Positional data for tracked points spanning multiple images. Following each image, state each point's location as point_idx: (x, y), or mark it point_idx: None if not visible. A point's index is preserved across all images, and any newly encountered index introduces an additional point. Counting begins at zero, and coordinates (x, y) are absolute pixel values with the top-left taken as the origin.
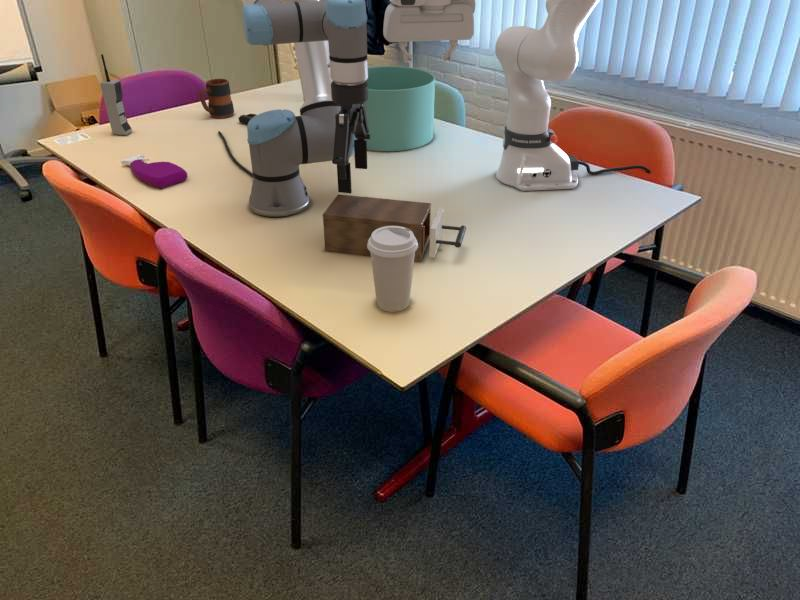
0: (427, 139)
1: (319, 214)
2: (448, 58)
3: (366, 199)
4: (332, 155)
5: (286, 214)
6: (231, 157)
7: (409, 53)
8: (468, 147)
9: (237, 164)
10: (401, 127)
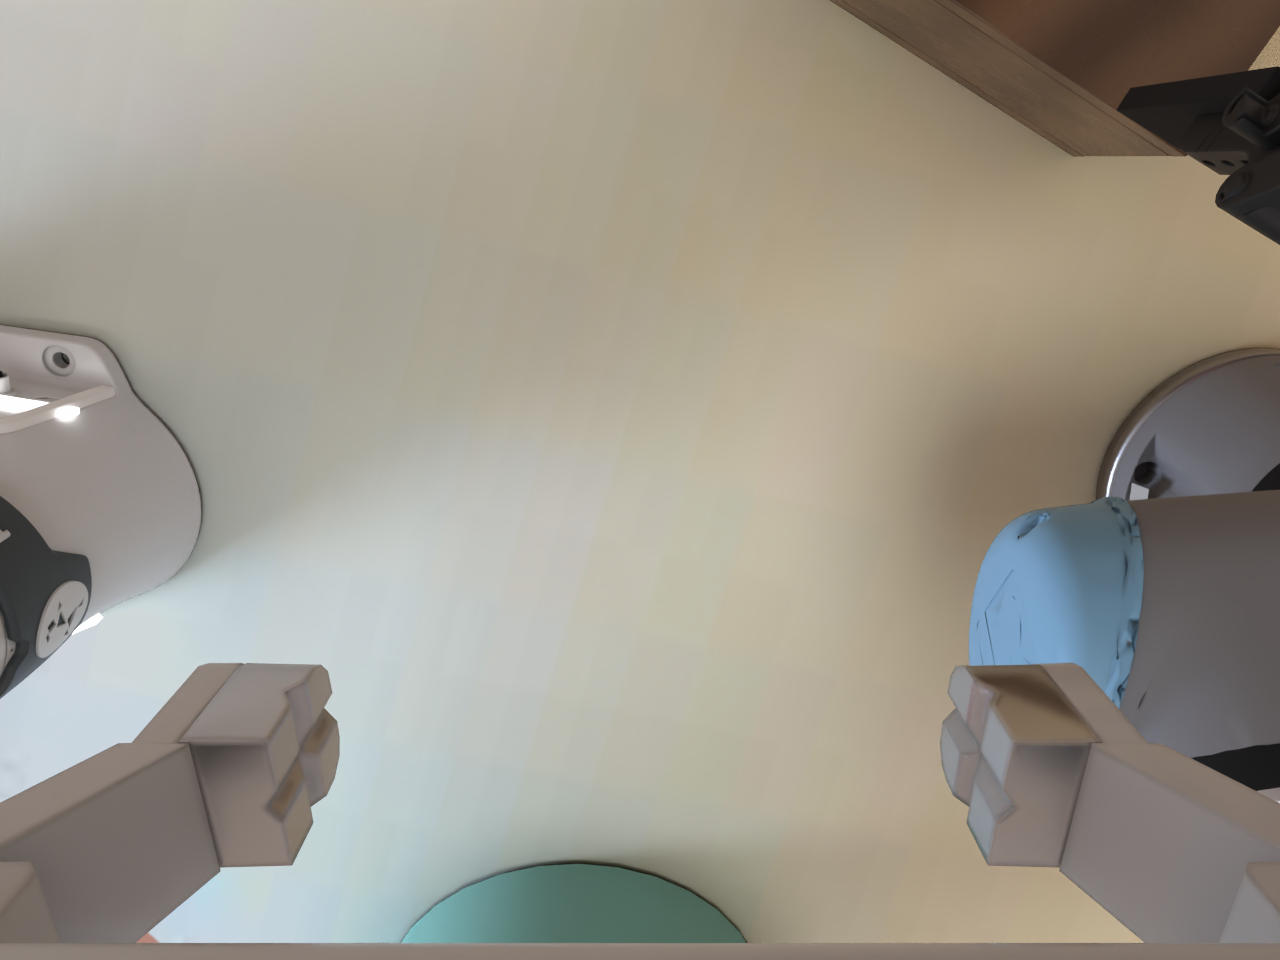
0: (429, 922)
1: (1101, 337)
2: (253, 678)
3: (1070, 29)
4: (1144, 499)
5: (1248, 351)
6: None
7: (1008, 842)
8: None
9: None
10: None
